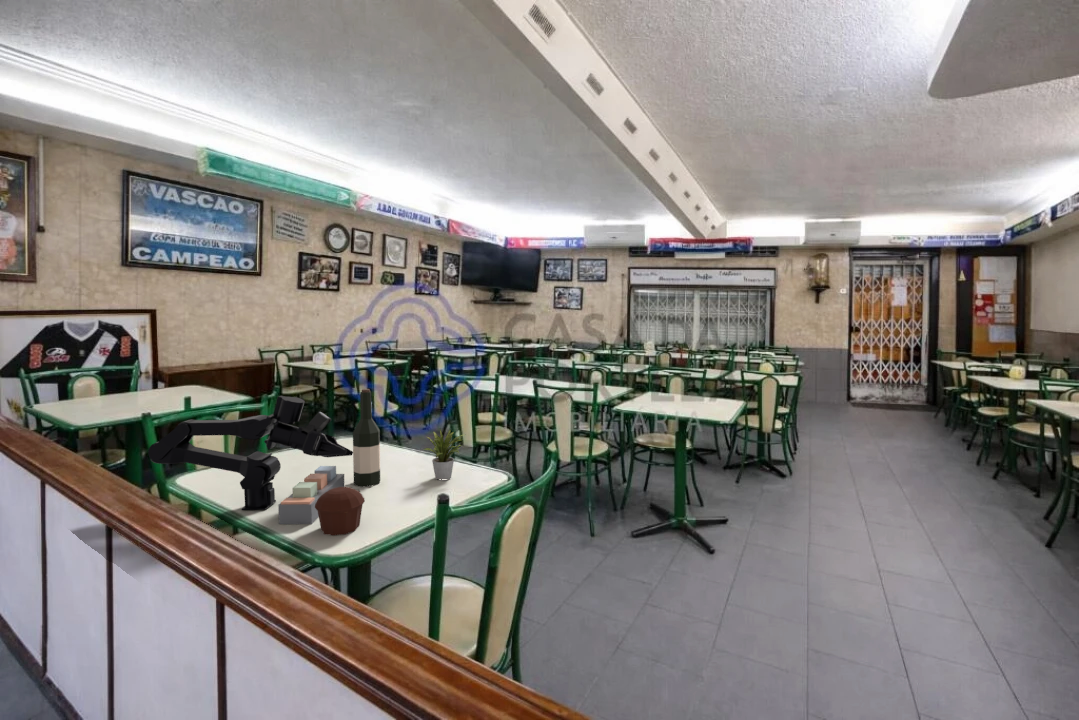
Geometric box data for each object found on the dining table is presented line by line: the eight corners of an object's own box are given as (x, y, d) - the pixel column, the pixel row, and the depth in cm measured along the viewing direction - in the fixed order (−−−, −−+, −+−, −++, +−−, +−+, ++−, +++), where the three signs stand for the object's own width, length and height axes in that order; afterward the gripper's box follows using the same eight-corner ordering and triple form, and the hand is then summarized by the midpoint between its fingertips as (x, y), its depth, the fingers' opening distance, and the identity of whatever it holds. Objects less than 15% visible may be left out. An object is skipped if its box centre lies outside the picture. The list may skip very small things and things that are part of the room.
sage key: (292, 500, 135) (292, 487, 135) (300, 494, 139) (299, 482, 139) (310, 500, 135) (310, 487, 135) (317, 494, 140) (317, 482, 139)
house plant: (462, 486, 161) (462, 435, 160) (418, 486, 161) (417, 434, 160) (468, 472, 175) (468, 425, 174) (427, 472, 175) (427, 425, 174)
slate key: (314, 482, 150) (314, 470, 149) (320, 477, 154) (320, 465, 154) (330, 482, 150) (330, 470, 150) (336, 477, 155) (336, 465, 154)
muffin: (321, 541, 121) (320, 500, 120) (310, 526, 130) (309, 487, 129) (371, 530, 128) (370, 490, 127) (358, 515, 137) (357, 479, 136)
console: (278, 524, 131) (278, 502, 130) (317, 489, 156) (316, 472, 156) (311, 523, 131) (311, 502, 131) (344, 489, 157) (344, 471, 156)
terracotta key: (304, 491, 142) (304, 478, 142) (310, 485, 147) (310, 473, 147) (321, 491, 143) (321, 478, 142) (327, 485, 147) (327, 473, 147)
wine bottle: (372, 487, 159) (370, 391, 156) (348, 485, 161) (346, 390, 158) (385, 479, 167) (384, 388, 165) (362, 477, 169) (360, 387, 166)
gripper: (295, 405, 135) (353, 422, 136) (313, 412, 153) (365, 427, 154) (278, 446, 132) (338, 463, 134) (299, 449, 150) (351, 464, 152)
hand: (349, 453), depth 143 cm, fingers open, 9 cm apart
